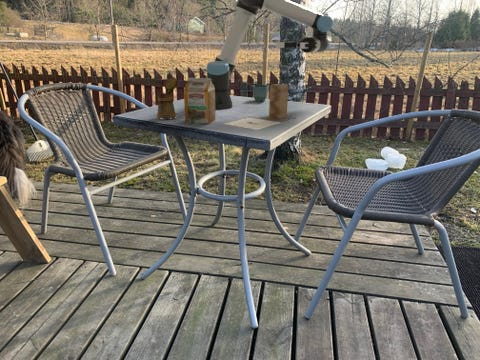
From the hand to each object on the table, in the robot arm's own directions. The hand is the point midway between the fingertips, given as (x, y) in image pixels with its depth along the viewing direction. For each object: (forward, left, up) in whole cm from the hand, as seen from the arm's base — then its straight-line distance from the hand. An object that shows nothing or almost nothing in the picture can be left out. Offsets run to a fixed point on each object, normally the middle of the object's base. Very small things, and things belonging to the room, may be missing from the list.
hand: (288, 45), depth 178 cm
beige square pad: (+4, -33, -32) cm, 46 cm away
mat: (+6, -16, -32) cm, 36 cm away
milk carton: (-16, -45, -32) cm, 57 cm away
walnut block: (+6, -16, -32) cm, 36 cm away
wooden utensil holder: (-35, -47, -32) cm, 67 cm away
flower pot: (-31, +21, -32) cm, 50 cm away
